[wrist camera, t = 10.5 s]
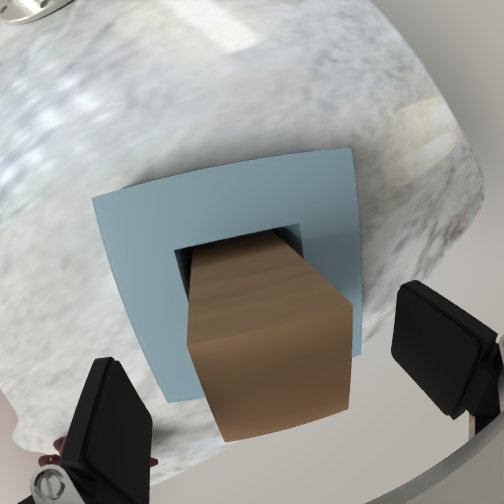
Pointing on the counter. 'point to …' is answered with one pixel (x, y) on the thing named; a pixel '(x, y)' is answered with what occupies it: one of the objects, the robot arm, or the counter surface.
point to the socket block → (221, 227)
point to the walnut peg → (266, 336)
